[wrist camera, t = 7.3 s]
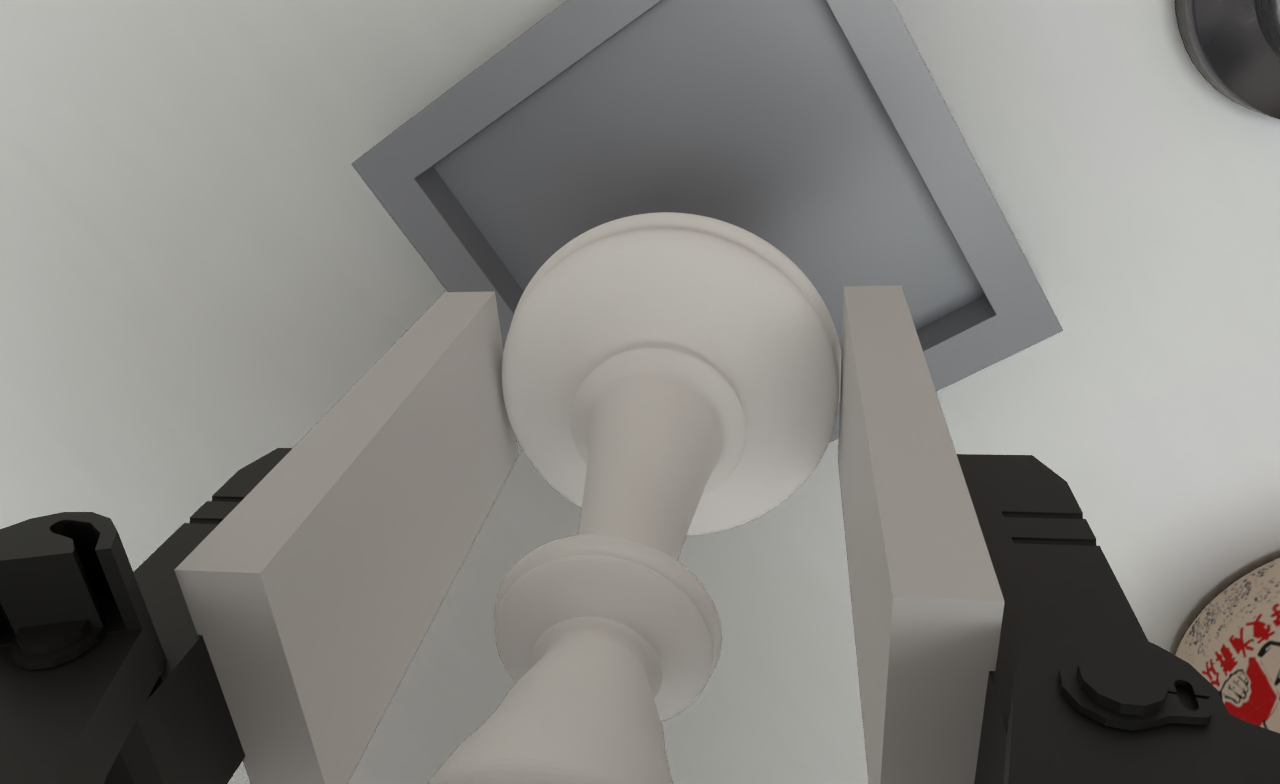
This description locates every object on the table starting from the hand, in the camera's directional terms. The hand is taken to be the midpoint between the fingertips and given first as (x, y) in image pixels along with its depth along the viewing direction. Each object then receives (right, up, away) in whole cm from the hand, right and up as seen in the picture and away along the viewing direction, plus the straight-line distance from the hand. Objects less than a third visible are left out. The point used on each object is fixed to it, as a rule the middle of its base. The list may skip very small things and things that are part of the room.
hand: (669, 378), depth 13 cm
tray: (+1, +4, +8) cm, 9 cm away
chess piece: (0, 0, 0) cm, 0 cm away
